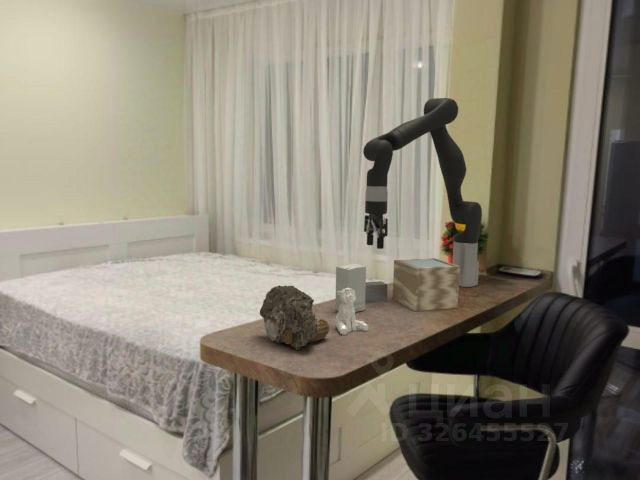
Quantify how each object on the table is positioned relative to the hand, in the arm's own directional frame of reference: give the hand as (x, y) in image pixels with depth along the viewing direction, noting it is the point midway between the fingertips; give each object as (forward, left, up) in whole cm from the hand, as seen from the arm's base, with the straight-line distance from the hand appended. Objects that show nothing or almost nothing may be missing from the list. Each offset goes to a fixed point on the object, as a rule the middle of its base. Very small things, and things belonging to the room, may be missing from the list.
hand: (374, 246), depth 180 cm
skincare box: (+13, +11, -19) cm, 25 cm away
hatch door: (-15, +9, -6) cm, 18 cm away
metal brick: (0, 0, -19) cm, 19 cm away
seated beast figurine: (+21, +29, -19) cm, 41 cm away
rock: (+37, +36, -19) cm, 55 cm away
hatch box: (-15, +9, -19) cm, 26 cm away
